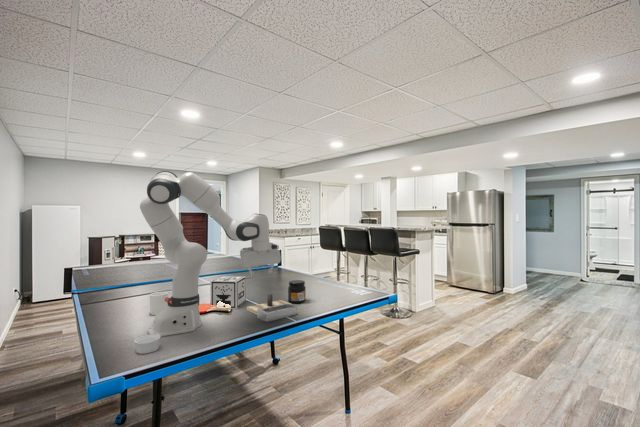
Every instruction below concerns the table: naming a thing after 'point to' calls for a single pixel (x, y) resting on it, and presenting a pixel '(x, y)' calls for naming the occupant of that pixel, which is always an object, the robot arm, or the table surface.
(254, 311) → the plate
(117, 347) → the table surface
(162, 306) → the mug
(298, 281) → the supplement container
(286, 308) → the silver rectangular frame
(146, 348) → the ramekin
